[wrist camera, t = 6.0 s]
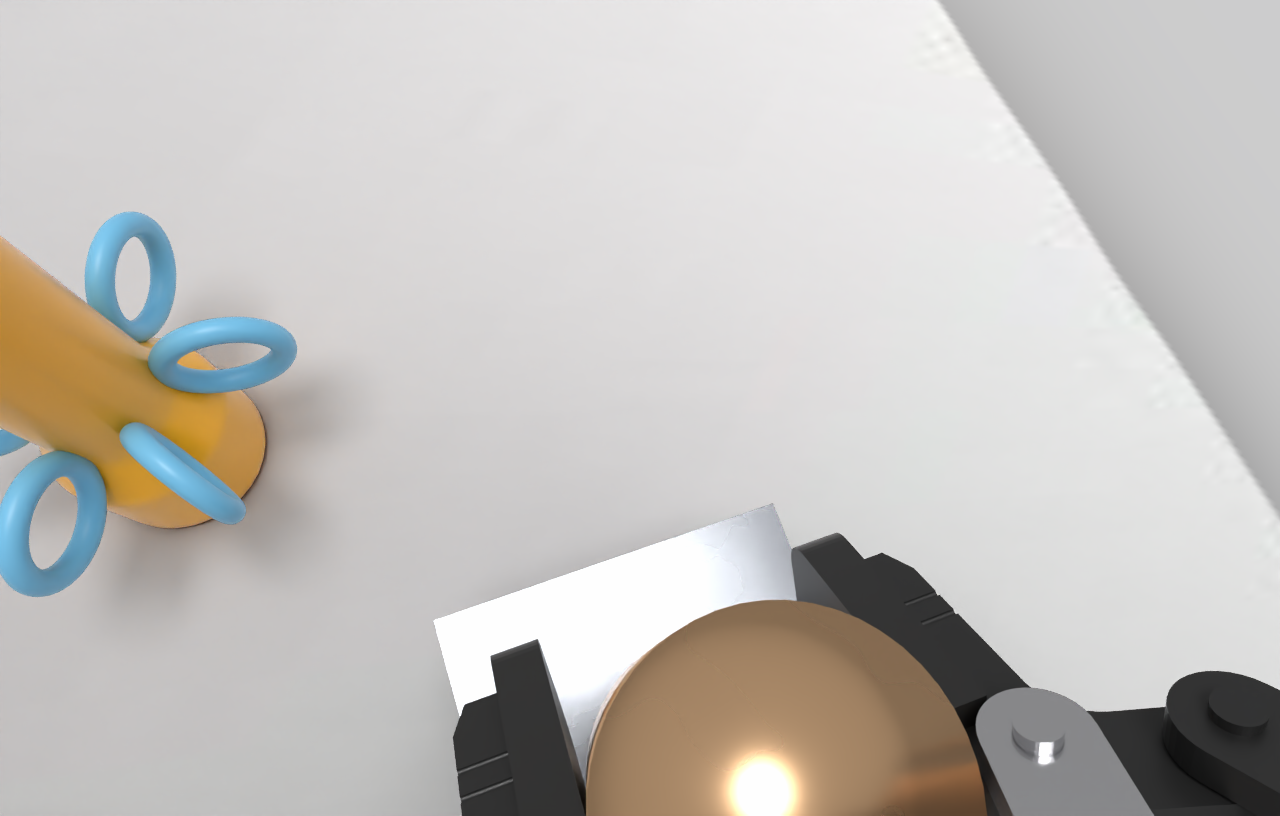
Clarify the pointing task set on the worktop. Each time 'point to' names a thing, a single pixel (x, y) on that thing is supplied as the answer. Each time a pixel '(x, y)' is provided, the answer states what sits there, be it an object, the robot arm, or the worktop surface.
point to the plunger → (779, 724)
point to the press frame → (618, 612)
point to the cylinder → (121, 404)
